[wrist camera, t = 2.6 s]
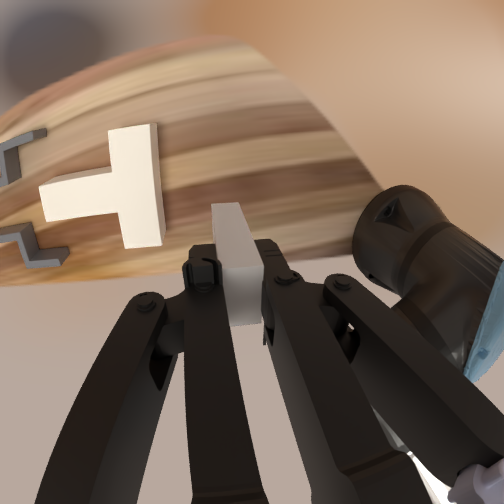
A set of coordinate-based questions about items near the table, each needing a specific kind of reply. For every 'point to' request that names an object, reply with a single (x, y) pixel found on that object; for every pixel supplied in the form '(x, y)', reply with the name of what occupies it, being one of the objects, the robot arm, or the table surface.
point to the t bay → (8, 163)
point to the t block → (116, 188)
